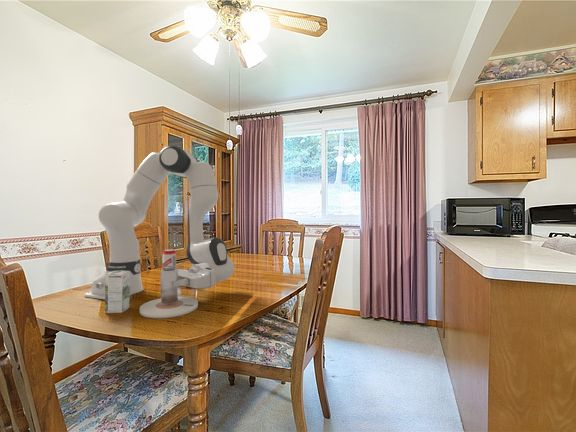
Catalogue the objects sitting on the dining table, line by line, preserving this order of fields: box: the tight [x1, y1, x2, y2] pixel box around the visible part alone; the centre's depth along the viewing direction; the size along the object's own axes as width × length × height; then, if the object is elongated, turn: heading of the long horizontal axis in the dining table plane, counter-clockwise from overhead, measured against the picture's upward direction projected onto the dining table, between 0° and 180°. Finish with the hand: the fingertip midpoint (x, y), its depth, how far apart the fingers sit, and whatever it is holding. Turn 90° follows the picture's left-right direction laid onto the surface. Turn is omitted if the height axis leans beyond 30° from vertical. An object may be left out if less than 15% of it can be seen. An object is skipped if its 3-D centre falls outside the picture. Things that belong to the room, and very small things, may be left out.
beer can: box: [161, 248, 177, 268], centre depth 147 cm, size 6×6×16 cm
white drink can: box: [160, 266, 179, 303], centre depth 105 cm, size 6×6×12 cm
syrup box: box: [104, 270, 131, 314], centre depth 104 cm, size 6×6×14 cm
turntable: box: [139, 295, 199, 319], centre depth 105 cm, size 19×19×2 cm
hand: (167, 282), depth 104 cm, fingers closed on white drink can, 5 cm apart
